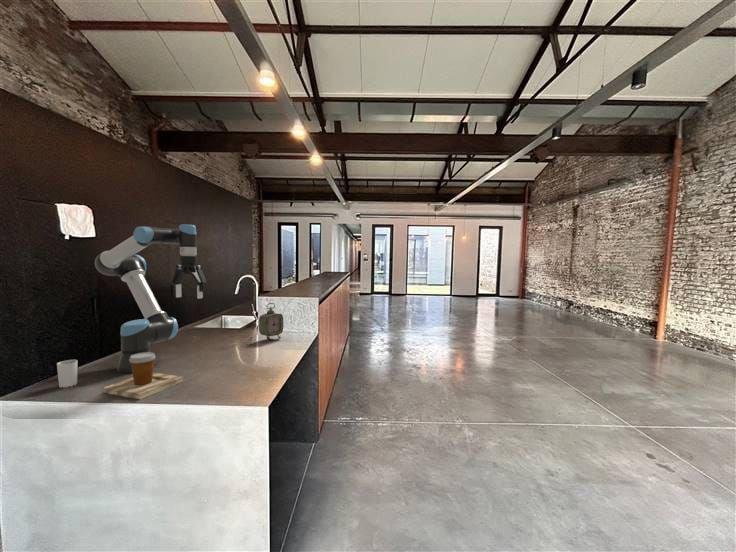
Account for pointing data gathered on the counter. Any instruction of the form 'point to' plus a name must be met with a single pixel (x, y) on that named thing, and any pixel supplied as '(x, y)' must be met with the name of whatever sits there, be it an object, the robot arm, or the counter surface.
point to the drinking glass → (67, 373)
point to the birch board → (143, 386)
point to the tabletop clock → (271, 323)
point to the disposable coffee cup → (142, 367)
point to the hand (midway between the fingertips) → (189, 297)
